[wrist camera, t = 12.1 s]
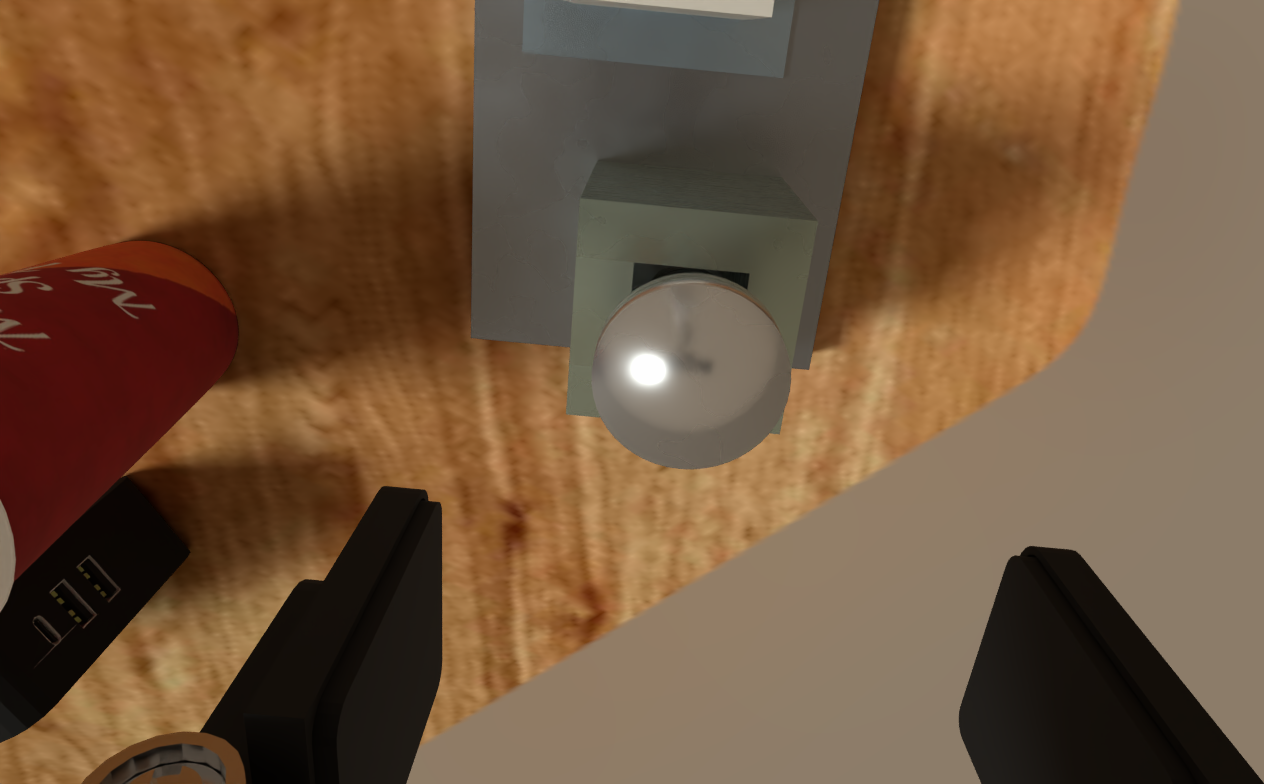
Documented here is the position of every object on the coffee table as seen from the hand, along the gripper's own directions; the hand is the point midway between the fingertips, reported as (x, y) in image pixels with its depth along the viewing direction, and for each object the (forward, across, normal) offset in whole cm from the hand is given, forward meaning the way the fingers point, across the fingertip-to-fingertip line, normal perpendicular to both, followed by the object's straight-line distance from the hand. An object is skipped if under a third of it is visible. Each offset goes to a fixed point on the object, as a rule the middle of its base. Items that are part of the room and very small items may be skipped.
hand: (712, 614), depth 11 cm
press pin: (+14, 0, 0) cm, 14 cm away
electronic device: (+20, +24, +16) cm, 35 cm away
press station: (+20, +1, -6) cm, 21 cm away
